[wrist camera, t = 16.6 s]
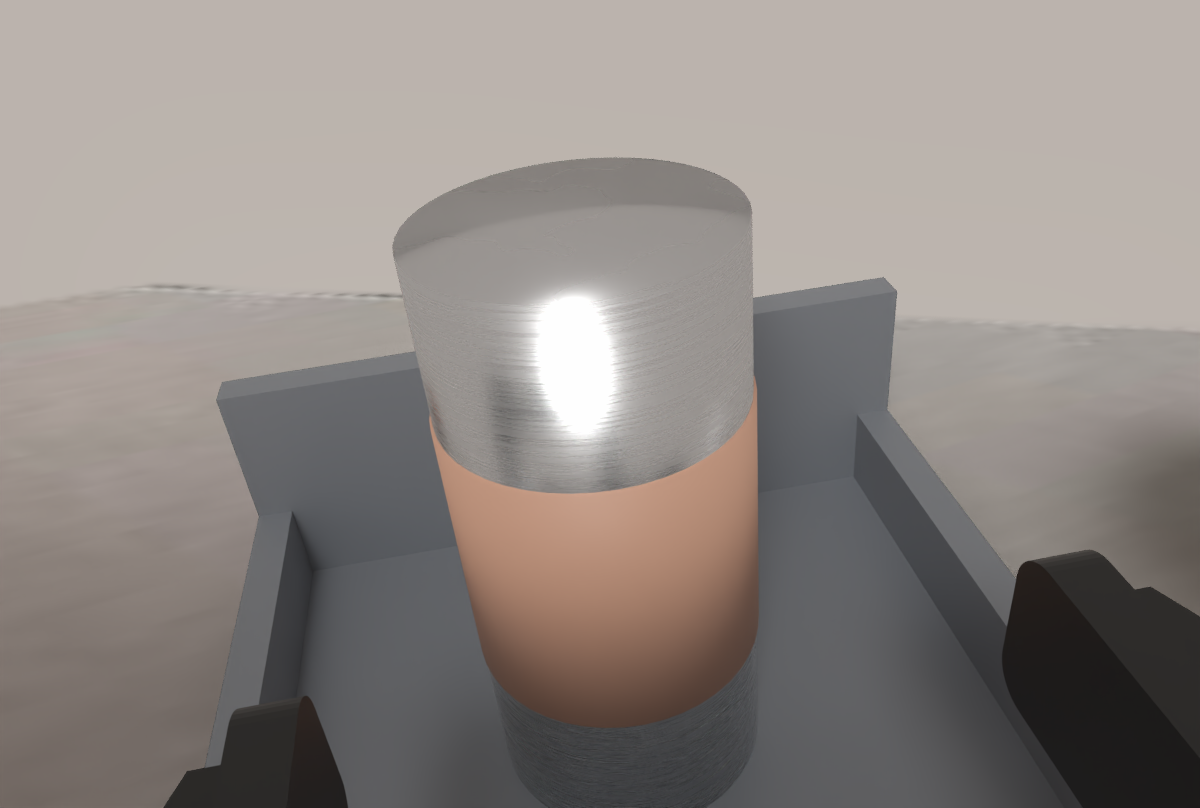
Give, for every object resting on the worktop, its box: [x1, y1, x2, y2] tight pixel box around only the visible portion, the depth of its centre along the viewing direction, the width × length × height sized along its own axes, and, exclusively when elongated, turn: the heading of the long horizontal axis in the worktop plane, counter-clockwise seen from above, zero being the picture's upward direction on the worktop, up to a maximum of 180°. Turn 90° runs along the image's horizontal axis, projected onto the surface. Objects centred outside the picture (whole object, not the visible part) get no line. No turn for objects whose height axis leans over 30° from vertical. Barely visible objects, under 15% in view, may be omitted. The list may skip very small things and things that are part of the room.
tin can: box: [393, 158, 759, 808], centre depth 17 cm, size 5×5×11 cm
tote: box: [205, 277, 1083, 808], centre depth 19 cm, size 16×14×6 cm
